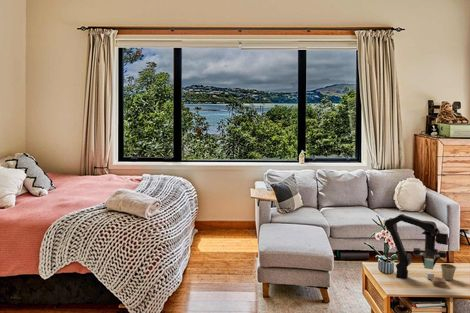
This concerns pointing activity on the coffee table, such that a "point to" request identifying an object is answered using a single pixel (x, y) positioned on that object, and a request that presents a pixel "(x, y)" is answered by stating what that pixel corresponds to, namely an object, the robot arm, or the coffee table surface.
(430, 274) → the grey block
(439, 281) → the walnut base block
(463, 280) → the coffee table surface
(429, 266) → the teal block
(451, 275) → the flower pot
